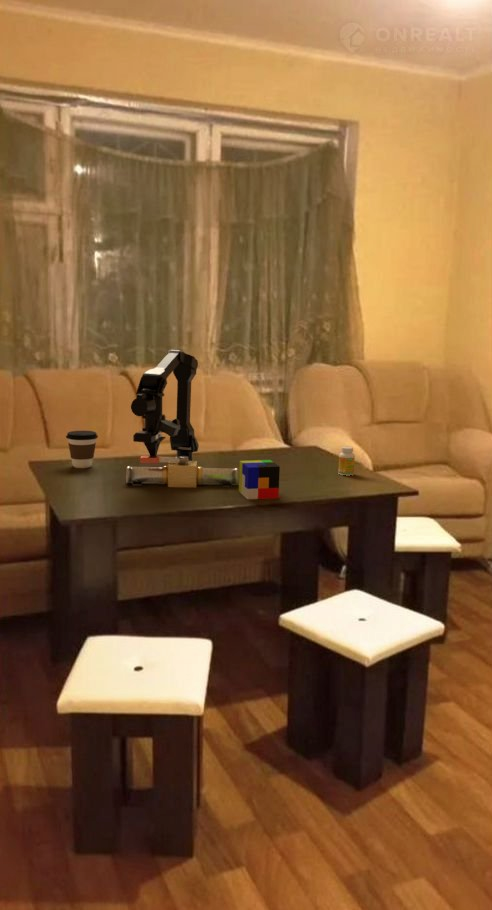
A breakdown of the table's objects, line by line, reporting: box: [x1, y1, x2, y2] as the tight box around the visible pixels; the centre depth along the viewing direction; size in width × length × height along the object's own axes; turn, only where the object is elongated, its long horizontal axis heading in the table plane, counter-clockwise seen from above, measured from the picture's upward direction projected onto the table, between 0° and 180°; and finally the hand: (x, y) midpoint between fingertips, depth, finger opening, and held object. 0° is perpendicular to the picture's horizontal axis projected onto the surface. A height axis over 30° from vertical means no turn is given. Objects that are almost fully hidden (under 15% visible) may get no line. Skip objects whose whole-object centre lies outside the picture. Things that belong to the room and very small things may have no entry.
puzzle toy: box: [238, 459, 281, 500], centre depth 247 cm, size 10×10×10 cm
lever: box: [139, 455, 188, 464], centre depth 256 cm, size 15×4×2 cm, turn 94°
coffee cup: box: [65, 430, 99, 469], centre depth 280 cm, size 11×11×12 cm
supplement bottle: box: [337, 446, 356, 477], centre depth 279 cm, size 5×5×10 cm
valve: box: [125, 460, 239, 488], centre depth 258 cm, size 8×36×7 cm, turn 93°
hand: (153, 459), depth 259 cm, fingers closed
